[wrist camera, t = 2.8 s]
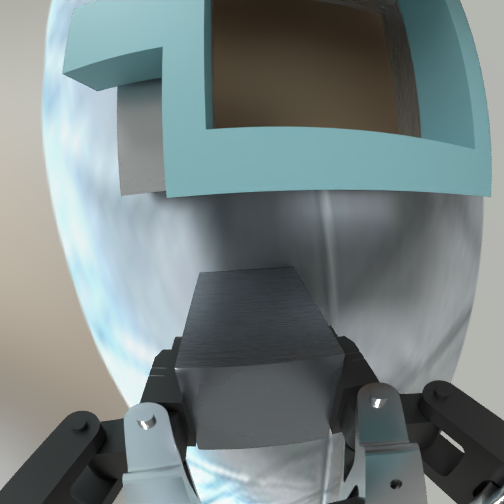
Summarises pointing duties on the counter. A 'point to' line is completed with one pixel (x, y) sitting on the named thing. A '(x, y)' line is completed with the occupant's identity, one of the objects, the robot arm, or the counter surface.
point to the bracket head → (290, 138)
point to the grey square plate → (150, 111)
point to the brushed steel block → (257, 361)
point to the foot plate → (301, 66)
